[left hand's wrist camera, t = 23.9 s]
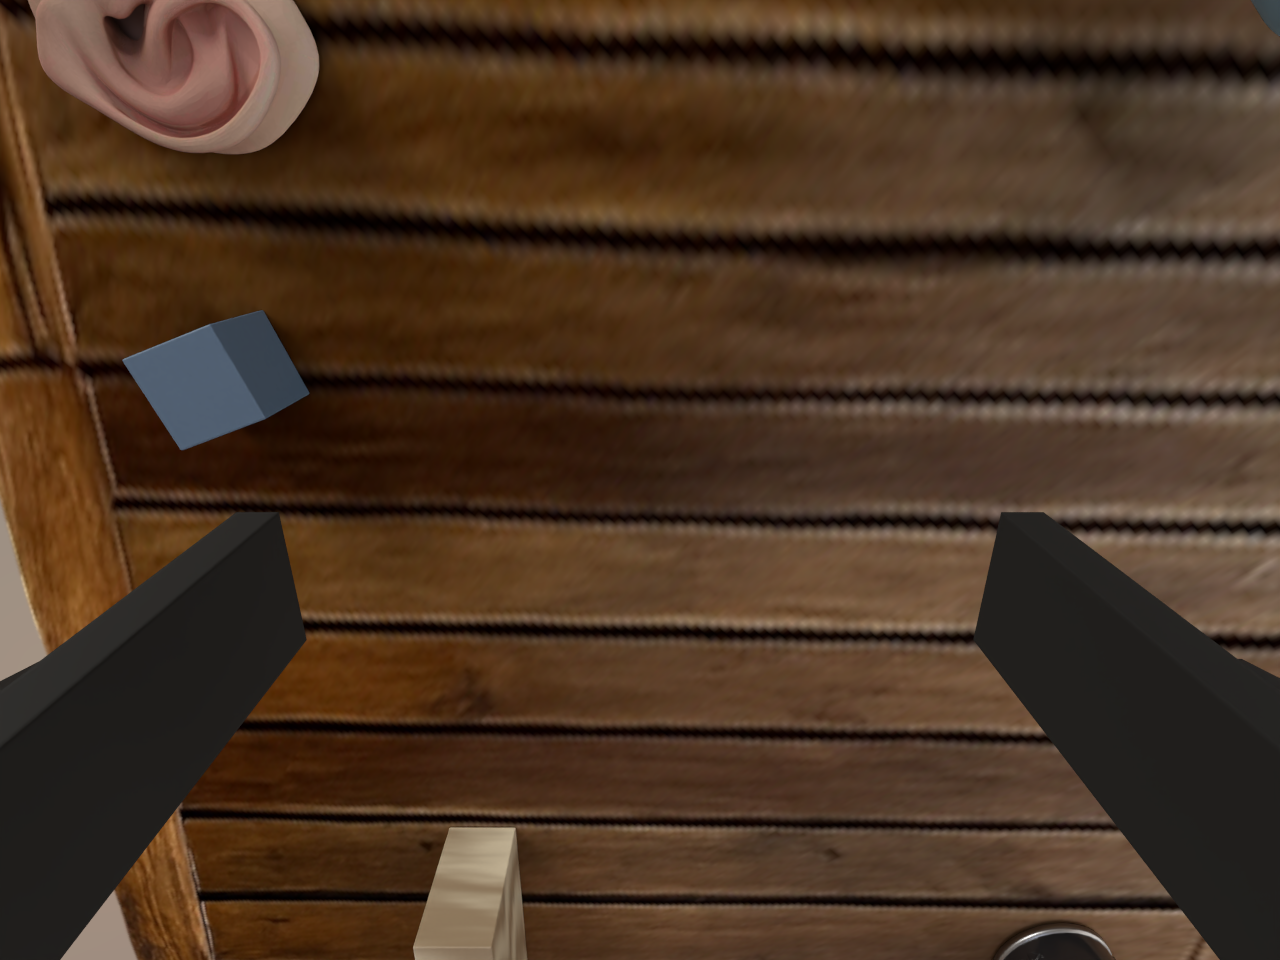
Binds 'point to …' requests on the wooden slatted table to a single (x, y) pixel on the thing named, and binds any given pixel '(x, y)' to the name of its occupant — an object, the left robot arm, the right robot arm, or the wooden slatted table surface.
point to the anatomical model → (183, 67)
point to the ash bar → (474, 900)
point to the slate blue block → (217, 378)
